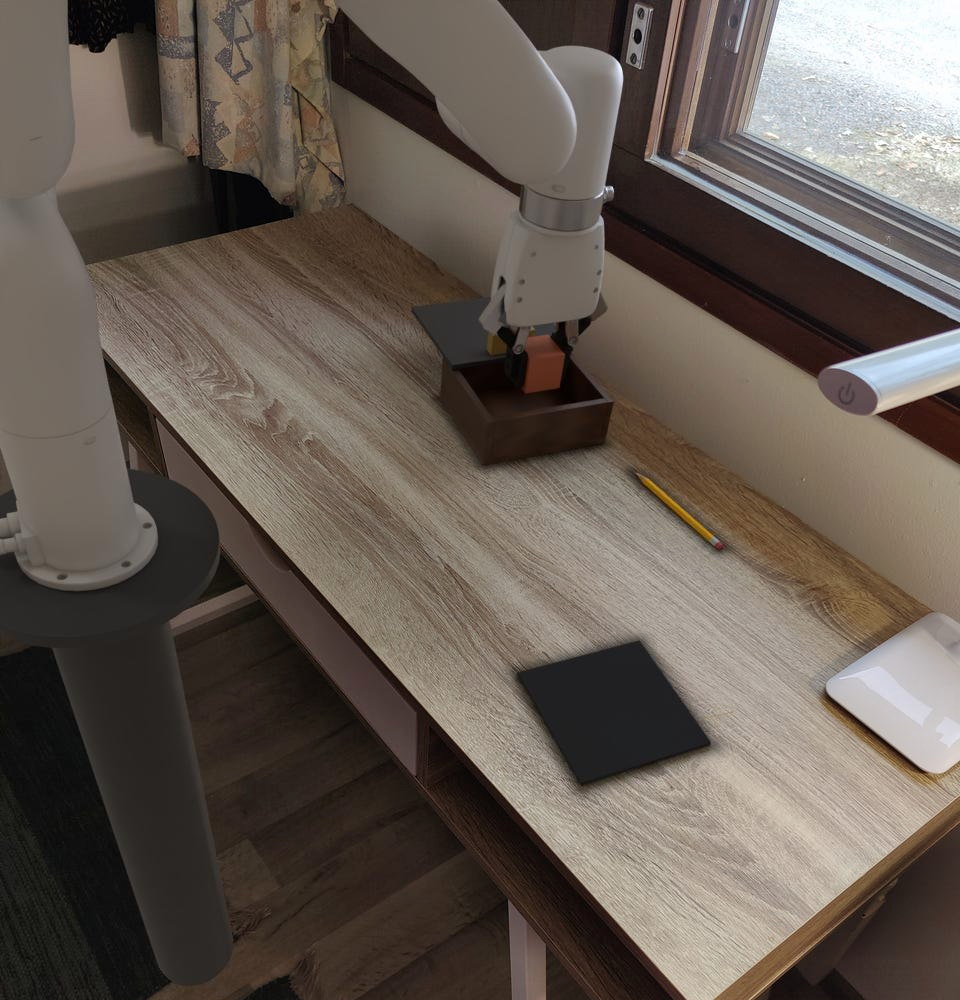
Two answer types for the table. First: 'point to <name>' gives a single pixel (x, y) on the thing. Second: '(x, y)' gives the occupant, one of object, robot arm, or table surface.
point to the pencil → (681, 512)
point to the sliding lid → (466, 332)
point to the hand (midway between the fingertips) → (535, 375)
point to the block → (543, 364)
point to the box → (524, 412)
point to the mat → (612, 711)
